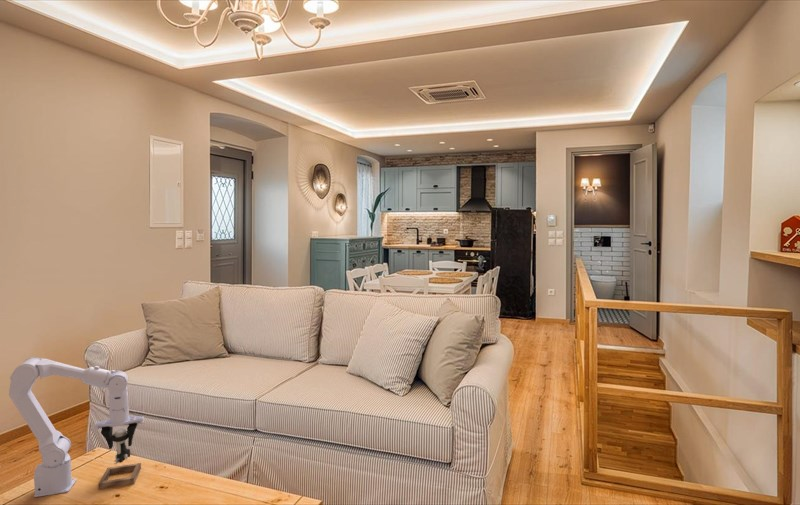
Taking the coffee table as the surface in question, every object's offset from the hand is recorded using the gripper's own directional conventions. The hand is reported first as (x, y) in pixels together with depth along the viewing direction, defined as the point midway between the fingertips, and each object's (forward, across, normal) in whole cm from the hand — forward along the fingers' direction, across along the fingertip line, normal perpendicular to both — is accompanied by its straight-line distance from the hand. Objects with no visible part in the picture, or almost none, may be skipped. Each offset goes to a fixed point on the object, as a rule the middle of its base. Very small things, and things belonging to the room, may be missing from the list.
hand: (120, 446), depth 162 cm
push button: (+5, 0, 0) cm, 5 cm away
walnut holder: (+10, 0, +2) cm, 11 cm away
